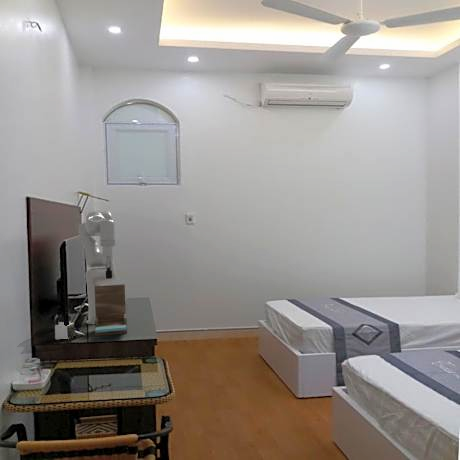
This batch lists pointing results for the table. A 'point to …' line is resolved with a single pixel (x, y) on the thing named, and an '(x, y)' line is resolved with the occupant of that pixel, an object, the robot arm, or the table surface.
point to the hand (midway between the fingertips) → (109, 278)
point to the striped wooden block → (110, 308)
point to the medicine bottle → (64, 329)
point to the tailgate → (110, 328)
